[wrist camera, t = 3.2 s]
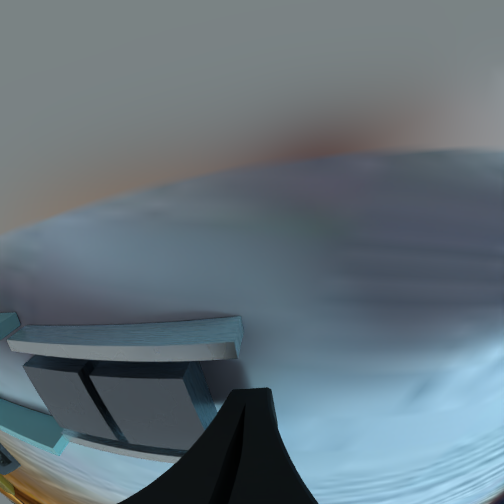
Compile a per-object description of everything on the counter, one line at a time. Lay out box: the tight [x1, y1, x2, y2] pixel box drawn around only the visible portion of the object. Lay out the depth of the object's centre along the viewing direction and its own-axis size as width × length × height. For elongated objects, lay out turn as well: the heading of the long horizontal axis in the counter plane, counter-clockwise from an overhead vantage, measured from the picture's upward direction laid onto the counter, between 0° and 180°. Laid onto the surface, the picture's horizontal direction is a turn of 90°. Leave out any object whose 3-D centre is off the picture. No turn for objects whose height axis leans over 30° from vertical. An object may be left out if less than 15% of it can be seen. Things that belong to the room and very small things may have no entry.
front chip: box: [89, 360, 217, 450], centre depth 10 cm, size 4×4×2 cm
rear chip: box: [23, 354, 122, 441], centre depth 11 cm, size 4×4×2 cm
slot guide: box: [7, 316, 244, 463], centre depth 10 cm, size 11×7×2 cm, turn 100°
